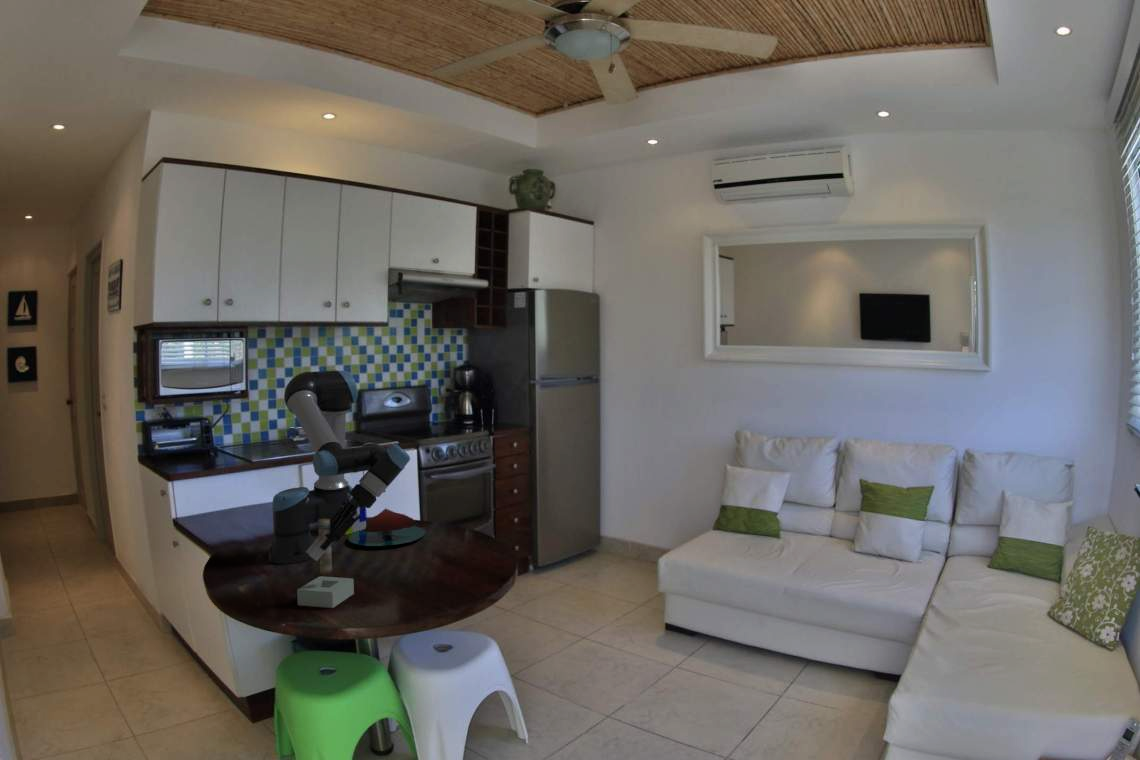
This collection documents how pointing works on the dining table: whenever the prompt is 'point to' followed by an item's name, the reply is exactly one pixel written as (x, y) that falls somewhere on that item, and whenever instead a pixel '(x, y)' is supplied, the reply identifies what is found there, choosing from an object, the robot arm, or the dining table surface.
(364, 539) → the red and teal hat
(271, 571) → the dining table surface
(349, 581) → the grey square-hole block
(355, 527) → the puzzle toy
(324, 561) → the tan cylinder
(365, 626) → the dining table surface
